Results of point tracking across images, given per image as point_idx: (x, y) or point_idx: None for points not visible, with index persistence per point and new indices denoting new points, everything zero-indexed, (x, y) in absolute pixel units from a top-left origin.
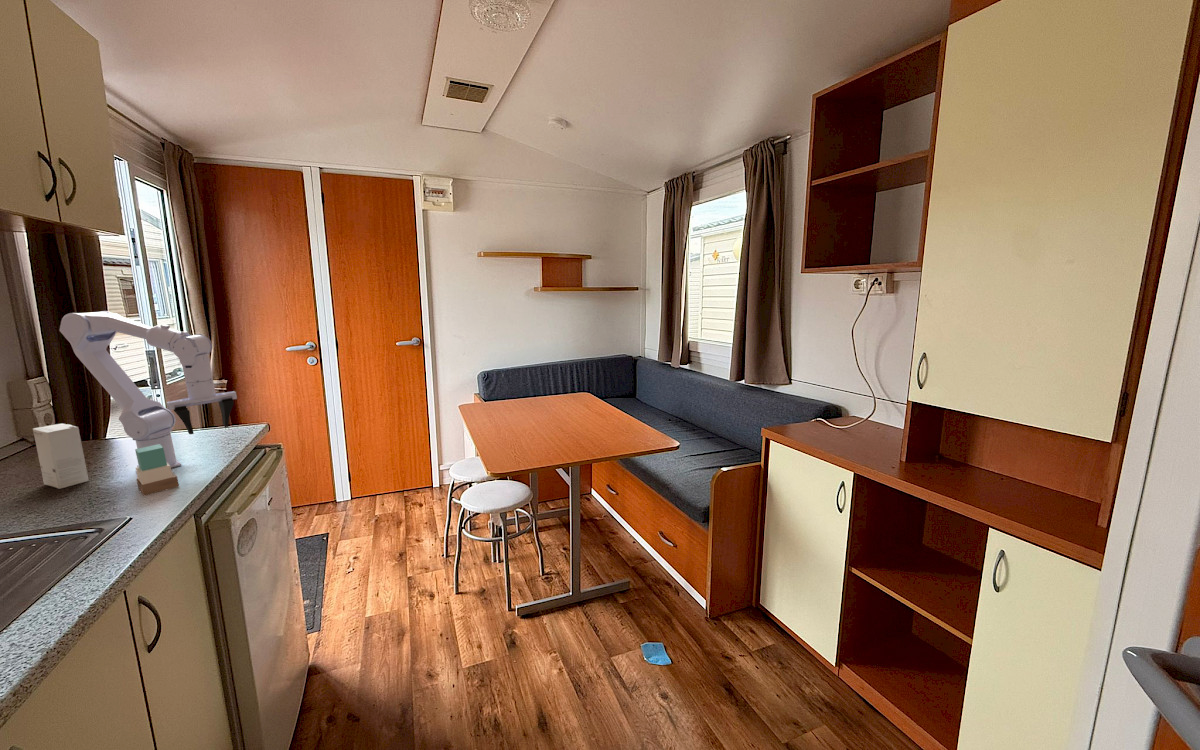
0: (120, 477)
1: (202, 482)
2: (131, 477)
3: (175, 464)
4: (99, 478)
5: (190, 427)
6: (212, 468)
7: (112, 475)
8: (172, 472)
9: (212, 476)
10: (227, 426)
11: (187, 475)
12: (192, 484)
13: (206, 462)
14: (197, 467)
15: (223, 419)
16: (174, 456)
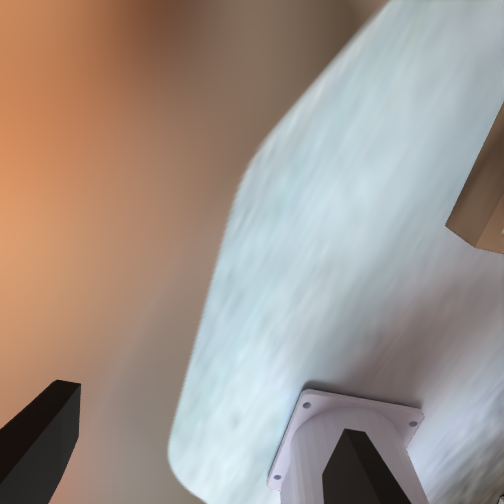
0: (457, 448)
1: (438, 6)
2: (449, 418)
3: (318, 404)
4: (477, 491)
5: (388, 494)
6: (268, 221)
7: (446, 486)
8: (501, 200)
9: (349, 68)
10: (61, 381)
11: (377, 232)
12: (475, 35)
13: (232, 337)
14: (288, 306)
15: (35, 493)
16: (309, 448)
